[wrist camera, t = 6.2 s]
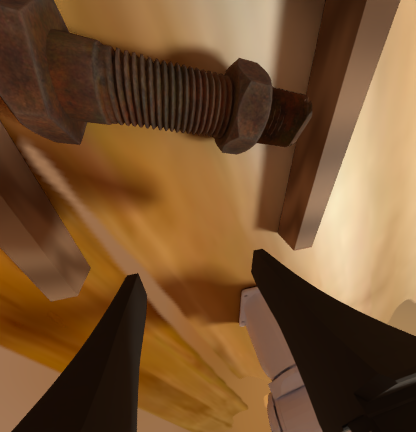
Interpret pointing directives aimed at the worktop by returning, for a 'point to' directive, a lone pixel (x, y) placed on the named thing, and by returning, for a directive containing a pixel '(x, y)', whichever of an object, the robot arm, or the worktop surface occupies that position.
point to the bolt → (132, 87)
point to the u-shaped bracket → (300, 170)
